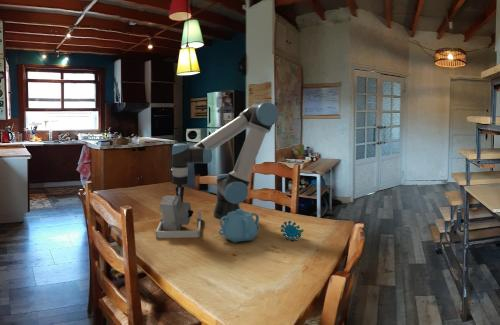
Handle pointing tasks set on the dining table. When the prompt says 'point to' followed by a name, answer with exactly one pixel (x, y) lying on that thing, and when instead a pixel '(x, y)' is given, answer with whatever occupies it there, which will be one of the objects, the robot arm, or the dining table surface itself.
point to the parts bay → (177, 233)
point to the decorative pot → (239, 226)
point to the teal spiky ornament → (291, 230)
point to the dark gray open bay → (197, 218)
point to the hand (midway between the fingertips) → (180, 222)
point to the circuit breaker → (175, 213)
